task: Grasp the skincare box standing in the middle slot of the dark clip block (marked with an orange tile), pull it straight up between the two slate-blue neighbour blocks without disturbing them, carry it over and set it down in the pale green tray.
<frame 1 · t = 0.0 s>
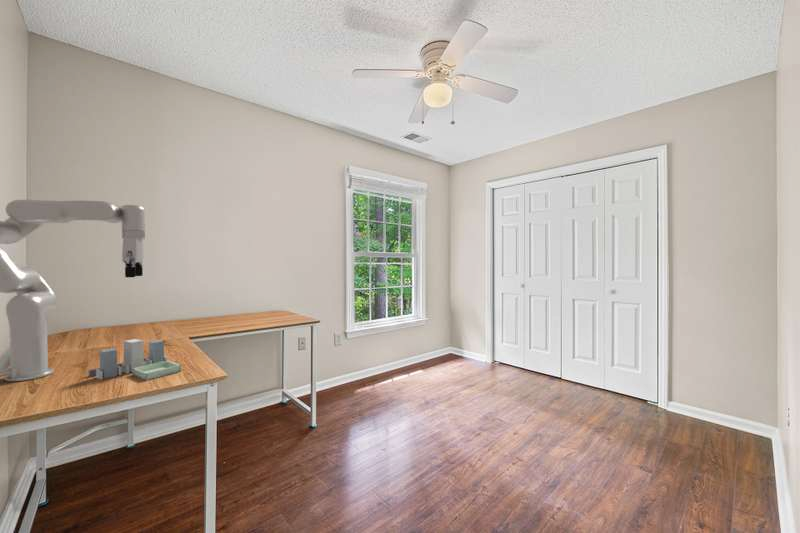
hand: (134, 276, 141), 37 cm above the table, tool pointing down, fingers open, 9 cm apart
clip block: (133, 370, 136), on the table
skincare box: (133, 370, 136), on the table
fuse right: (156, 365, 143), on the table
tray: (157, 373, 133), on the table
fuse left: (108, 376, 129), on the table
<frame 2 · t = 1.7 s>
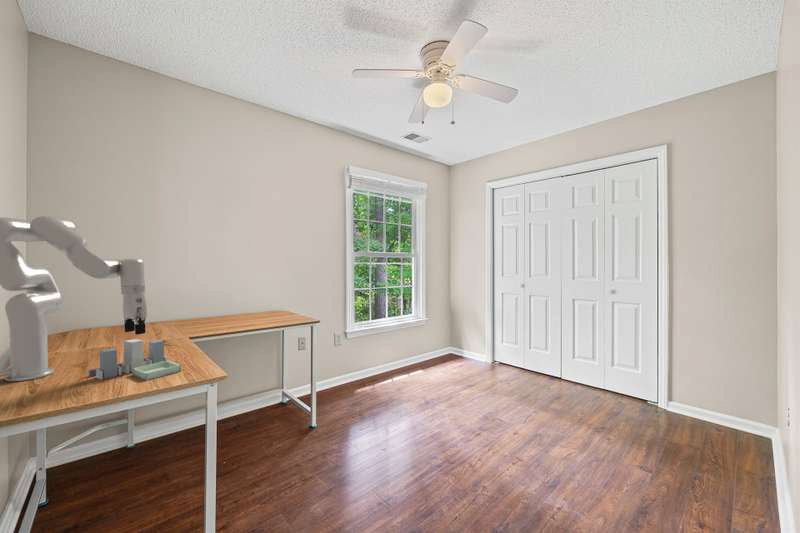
hand: (135, 332, 136), 15 cm above the table, tool pointing down, fingers open, 9 cm apart
nothing on the table moved.
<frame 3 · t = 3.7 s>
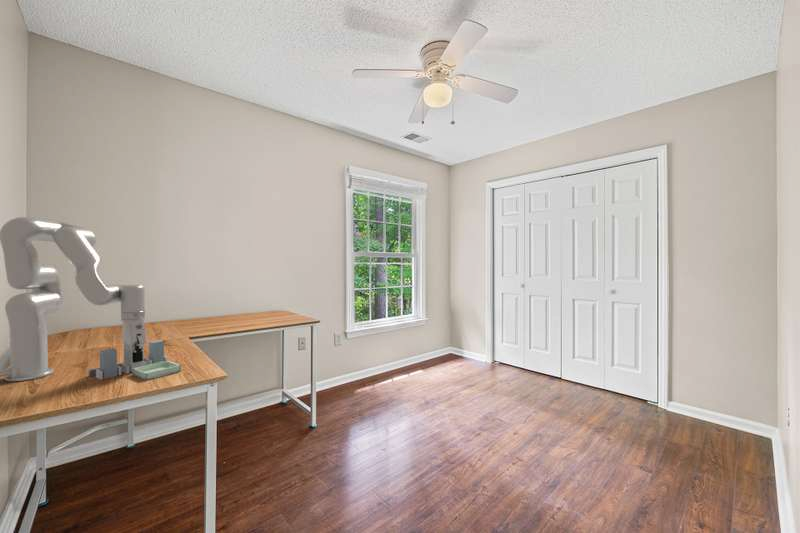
hand: (133, 359, 136), 4 cm above the table, tool pointing down, fingers closed on skincare box, 6 cm apart
skincare box: (133, 370, 136), on the table, touching gripper
everything else where it was.
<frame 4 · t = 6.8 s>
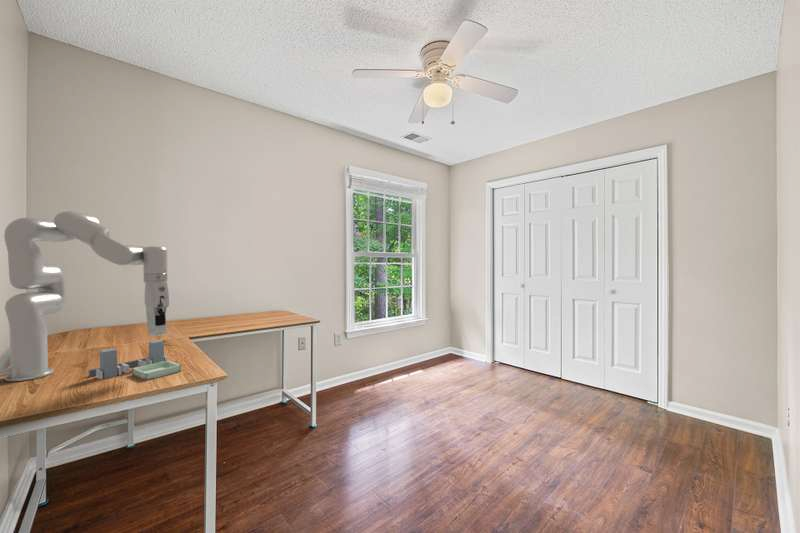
hand: (156, 323, 133), 19 cm above the table, tool pointing down, fingers closed on skincare box, 6 cm apart
skincare box: (157, 334, 133), point 15 cm above the table, touching gripper
everything else where it was.
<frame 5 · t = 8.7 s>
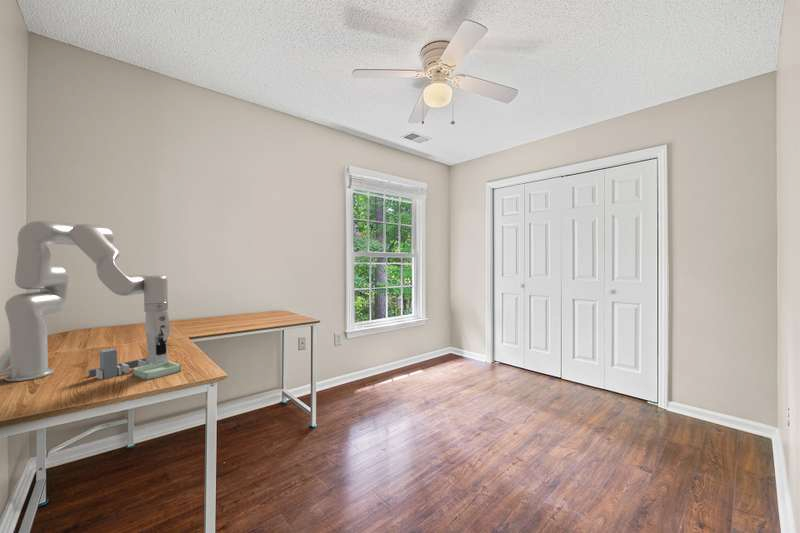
hand: (157, 352, 133), 8 cm above the table, tool pointing down, fingers closed on skincare box, 6 cm apart
skincare box: (158, 363, 133), point 4 cm above the table, touching gripper
everything else where it was.
when the fingers open (6 cm above the table, at t = 10.1 s): skincare box drops 1 cm, resting on tray.
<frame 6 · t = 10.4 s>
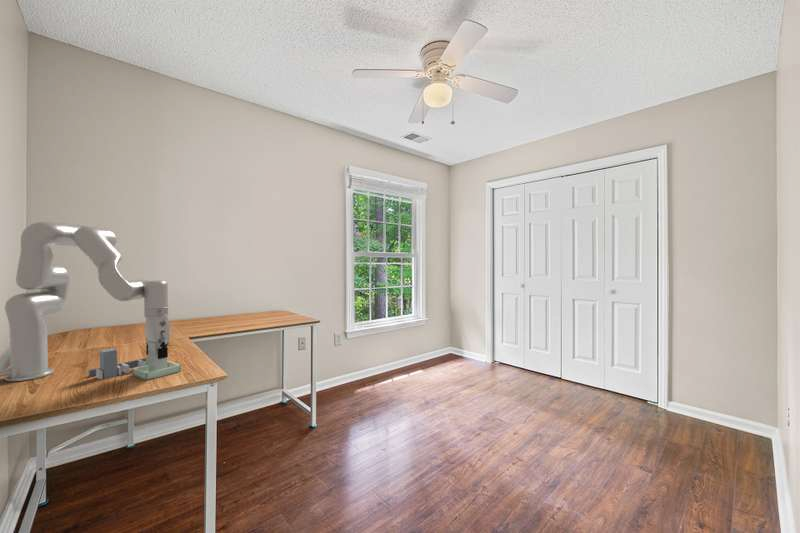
hand: (157, 356, 133), 7 cm above the table, tool pointing down, fingers open, 9 cm apart
skincare box: (157, 371, 134), resting on tray
everything else where it was.
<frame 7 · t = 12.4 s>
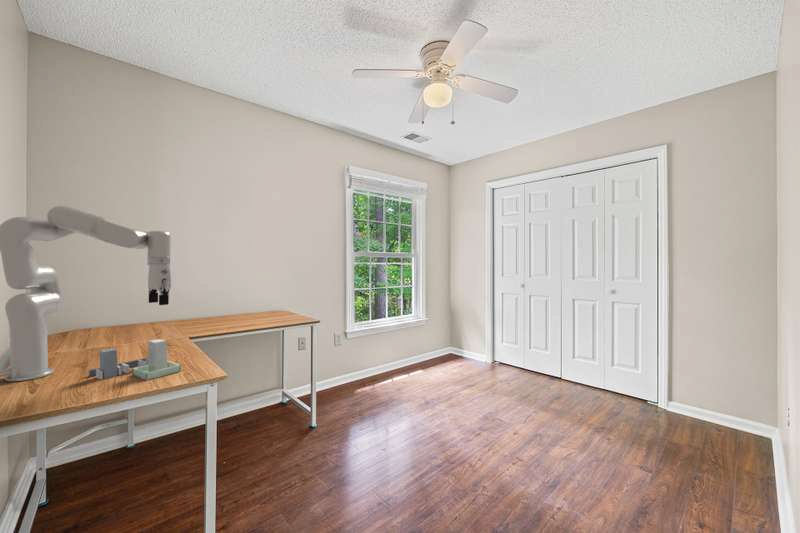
hand: (158, 303, 138), 26 cm above the table, tool pointing down, fingers open, 9 cm apart
nothing on the table moved.
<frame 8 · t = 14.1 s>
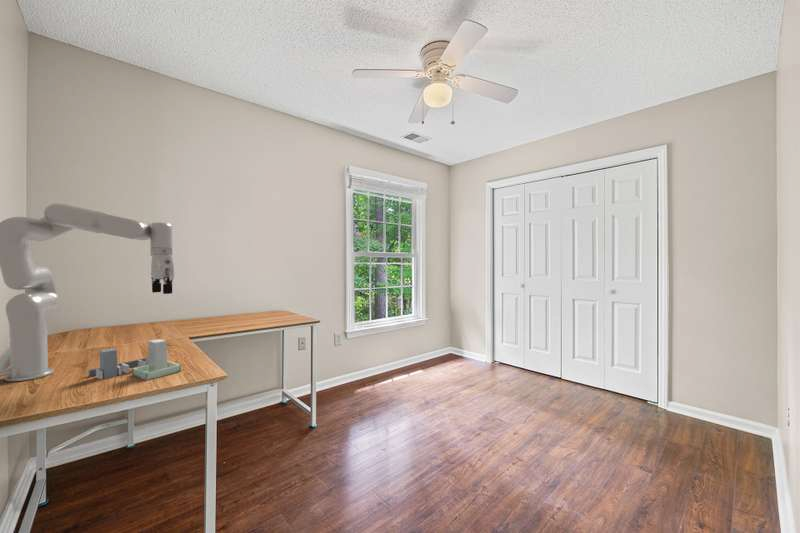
hand: (162, 292, 143), 30 cm above the table, tool pointing down, fingers open, 9 cm apart
nothing on the table moved.
at the end: skincare box inside the target area on the tray (0.5 cm from its centre), point 0.4 cm above the tray's base; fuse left moved 0.0 cm from its start; fuse right moved 0.0 cm from its start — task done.
